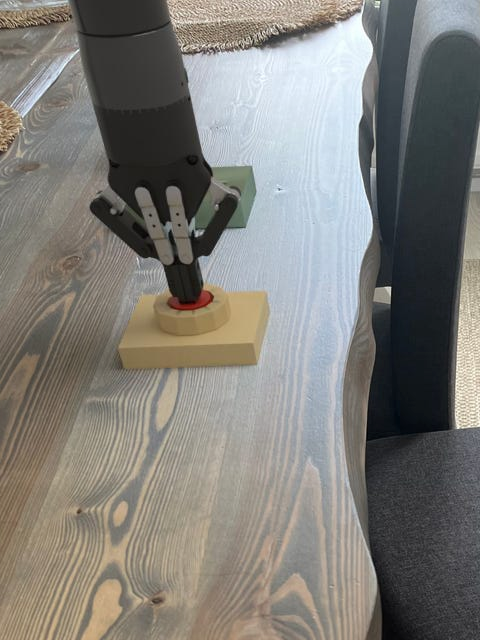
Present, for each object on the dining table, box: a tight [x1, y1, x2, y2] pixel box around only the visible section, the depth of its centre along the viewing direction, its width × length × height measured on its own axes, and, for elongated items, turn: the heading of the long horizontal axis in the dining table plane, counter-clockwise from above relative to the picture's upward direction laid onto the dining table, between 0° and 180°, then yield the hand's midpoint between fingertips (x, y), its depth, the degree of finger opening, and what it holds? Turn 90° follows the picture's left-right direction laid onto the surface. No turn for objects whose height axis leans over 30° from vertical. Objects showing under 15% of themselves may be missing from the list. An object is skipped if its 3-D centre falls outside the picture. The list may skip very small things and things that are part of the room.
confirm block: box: [117, 282, 271, 370], centre depth 93 cm, size 12×10×4 cm
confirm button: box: [170, 290, 211, 311], centre depth 92 cm, size 4×4×2 cm
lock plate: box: [123, 165, 257, 230], centre depth 114 cm, size 14×10×3 cm
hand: (190, 299), depth 91 cm, fingers closed
